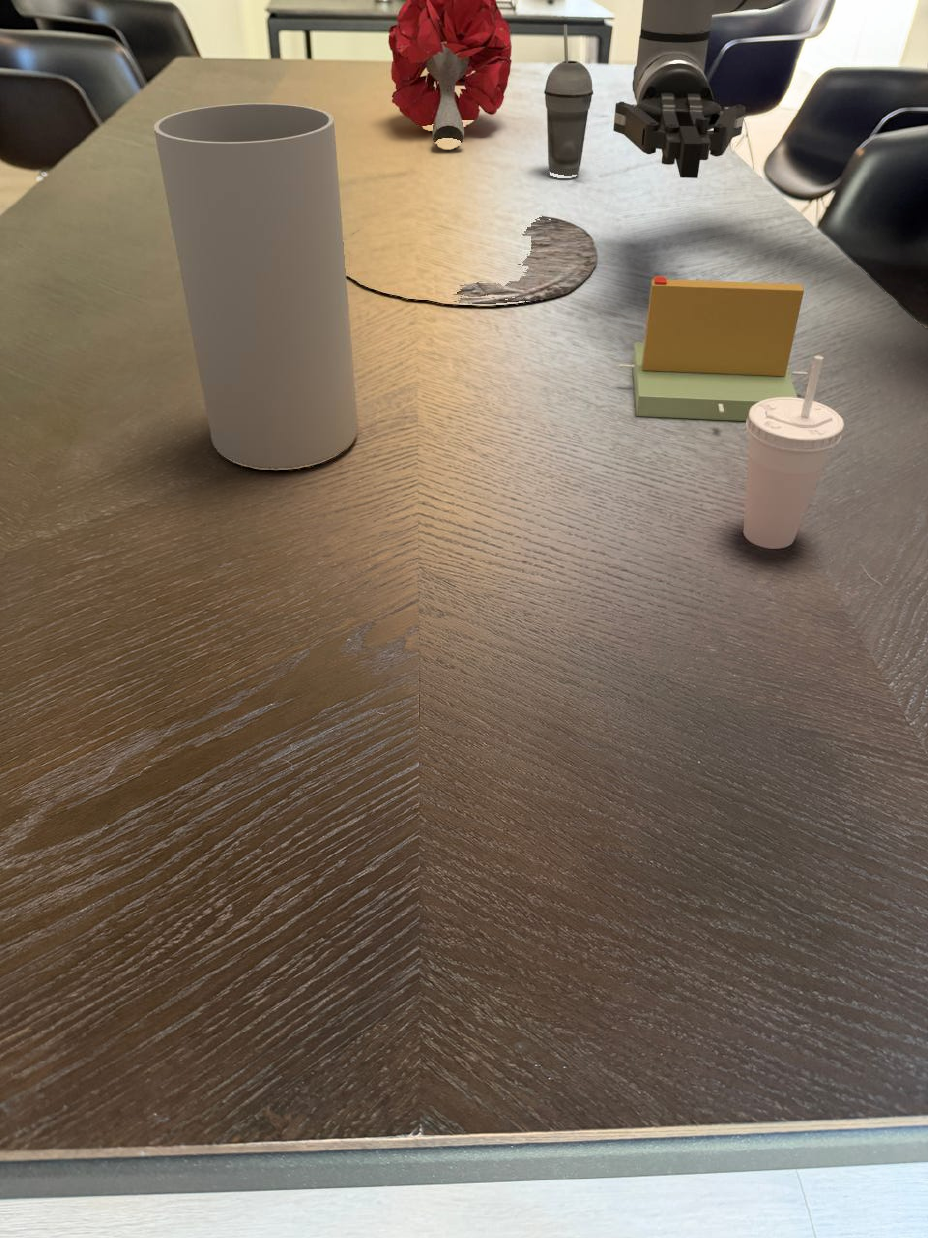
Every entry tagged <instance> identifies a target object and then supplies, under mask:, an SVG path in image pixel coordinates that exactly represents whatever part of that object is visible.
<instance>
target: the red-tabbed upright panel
mask: <svg viewBox="0 0 928 1238" xmlns="http://www.w3.org/2000/svg"><path fill="white" fill-rule="evenodd" d="M650 283H651V285H650V290H649V299H648V309H647V316H646V324H645V334H644V335H645V336H644V340H643V342H644V349H643V358H642V370H646V371H670V372H694V373H717V374H741V375H765V376H785V375H786V371H787V369H788V366H789V361H790V356H791V352H792V347H793V343H794V338H795V334H796V329H797V324H798V320H799V316H800V311H801V306H802V302H803V298H804V293H805V290H804V287H803V285H802V284H801V283H782V282H779V283H778V282H756V281H755V282H751V281H724V280H694V279H693V280H692V279H691V280H690V279H669V278H668V279H667V277H666V276H654V278H652V279H651V282H650Z"/></svg>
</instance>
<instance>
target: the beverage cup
mask: <svg viewBox="0 0 928 1238" xmlns="http://www.w3.org/2000/svg"><path fill="white" fill-rule="evenodd" d="M568 42H569V41H568V24H563V49H564V50H563V51H564V52H563V53H564V61H561V62H559V63H558V64H556V65H555V66H554V67H553V68H552V69H551V71H550V72H549V74H548V76H547V79H546V82H545V88H544V91H543V94H544V100H545V108H546V116H547V117H546V124H547V126H546V127H547V128H546V129H547V157H548V159H547V160H548V161H547V163H548V172H549V171H550V172H551V173H554V174H558V175H564V176H572V175H577V174H578V176H576V177H572V178H557V177H553V176H550V175H549V174H548V176H549V177H550V178H552V179H555V180H566V181H567V180H574V179H577V178H578V177H579V172H580V167H581V163H582V155H583V150H584V142H585V135H586V129H587V122H588V115H589V110H590V107H591V102H592V97H593V95H594V90H593V81H592V76H591V73H590V72H589V70H588V69H587V67H586V66H585V65H584V64H583V63H581V62H579V61H576V60H569V47H568V45H569V44H568Z"/></svg>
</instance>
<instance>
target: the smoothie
mask: <svg viewBox="0 0 928 1238" xmlns="http://www.w3.org/2000/svg"><path fill="white" fill-rule="evenodd" d="M823 361H824V357H823V356H822V355H814V357H813V360H812V366H811V370H810V373H809V378H808V382H807V386H806V390H805V391H806V392H805V396H804V398H803V397H802V398H800V397H798V398H794V397H777V398H770V399H766V400H762V401H760V402H758V403H756V404H755V405H753V406H752V407H751V408H750V410H749V415H748V419H747V421H745V428H746V430H747V432H748V433H749V440H748V455H747V469H746V470H747V471H746V484H745V485H746V487H745V501H744V517H743V531H742V532H743V536H744V537H745V539H746V540H747V541H749V542H750V543H751V544H753V545H754V546H758V547H761V548H765V549H772V550H774V549H777V550H778V549H779V550H780V549H785V548H787V547H790V546H791V545H792V544H793V543H794V542H795V539H796V537H797V534H798V531H799V530H800V528H801V525H802V522H803V520H804V517H805V515H806V512H807V511H808V508H809V505H810V503H811V500H812V498H813V495H814V493H815V491H816V488H817V486H818V483H819V481H820V479H821V476H822V474H823V471H824V469H825V466H826V464H827V463H828V460H829V457H830V455H831V452H832V450H833V447H834V446H837V445H838V444H839V443H840V441H841V439H842V434H843V433H842V432H843V429H844V425H845V424H844V419H843V418H842V416H841V415H840V414H839V413H838V412H837V411H836V410H834V409H833V408H831V407H830V406H827V405H825V404H823V403H820V402H818V401H814V398H815V395H816V390H817V385H818V382H819V378H820V373H821V368H822V365H823Z"/></svg>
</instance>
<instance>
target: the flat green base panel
mask: <svg viewBox="0 0 928 1238" xmlns="http://www.w3.org/2000/svg"><path fill="white" fill-rule="evenodd" d="M633 344H634V345H633V351H632V352H633V353H632V364H621V363H620V364H619V368H624V369H632V371H633V373H632V374H633V383H634V384H633V386H634V400H635V402H634V403H635V413H636V414H635V416H636V417H645V418H646V417H647V418H648V417H649V418H673V419H690V420H691V419H693V420H711V421H713V420H714V421H734V422H735V421H736V422H746V421H747V419H748V415H749V410H750V408H751V407H752V406H753V405H755V404H756V403H758V402H760V401H762V400H766V399H770V398H777V397H794V398H799V397H798V393H797V392H796V389H795V386H794V383H793V381H792V378H791V375H793V376H808V375H809V373H808V371H791V375H790V373H789V369H788V368H787V371H786V375H785V376H765V375H741V374H717V373H694V372H670V371H646V370H642V358H643V349H644V341H635V342H634V343H633Z"/></svg>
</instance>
